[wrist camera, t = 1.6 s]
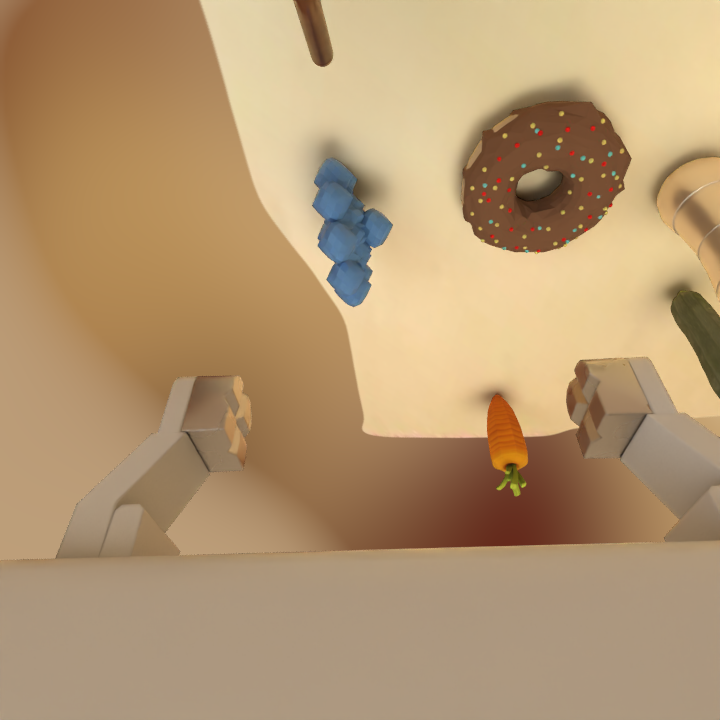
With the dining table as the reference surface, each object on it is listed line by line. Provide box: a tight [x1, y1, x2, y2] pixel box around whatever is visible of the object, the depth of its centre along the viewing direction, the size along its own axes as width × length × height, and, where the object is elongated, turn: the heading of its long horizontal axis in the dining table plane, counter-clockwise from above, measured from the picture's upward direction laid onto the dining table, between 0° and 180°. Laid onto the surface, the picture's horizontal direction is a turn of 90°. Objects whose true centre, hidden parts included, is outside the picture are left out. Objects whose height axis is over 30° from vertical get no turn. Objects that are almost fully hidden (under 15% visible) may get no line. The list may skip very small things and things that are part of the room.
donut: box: [461, 101, 631, 254], centre depth 45 cm, size 14×14×5 cm
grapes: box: [312, 158, 393, 307], centre depth 45 cm, size 12×7×12 cm, turn 12°
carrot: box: [487, 394, 528, 496], centre depth 68 cm, size 5×5×15 cm
